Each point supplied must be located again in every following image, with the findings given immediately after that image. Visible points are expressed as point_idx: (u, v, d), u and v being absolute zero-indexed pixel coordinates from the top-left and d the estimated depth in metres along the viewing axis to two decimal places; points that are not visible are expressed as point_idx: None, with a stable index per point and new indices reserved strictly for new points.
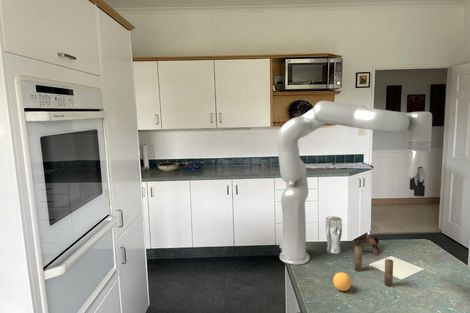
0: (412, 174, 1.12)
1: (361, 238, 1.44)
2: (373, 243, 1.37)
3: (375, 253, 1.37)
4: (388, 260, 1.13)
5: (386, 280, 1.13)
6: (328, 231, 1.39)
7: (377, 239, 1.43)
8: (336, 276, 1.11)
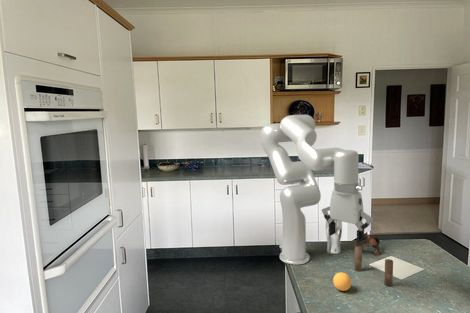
0: None
1: None
2: (374, 244, 1.37)
3: (376, 254, 1.36)
4: (388, 260, 1.13)
5: (386, 280, 1.13)
6: (328, 231, 1.39)
7: (378, 239, 1.42)
8: (336, 276, 1.11)
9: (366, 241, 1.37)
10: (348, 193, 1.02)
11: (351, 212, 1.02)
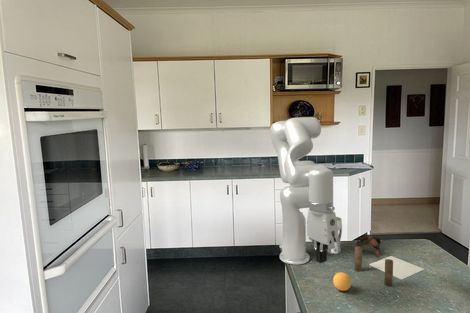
0: None
1: (363, 239, 1.43)
2: (375, 244, 1.36)
3: (377, 254, 1.35)
4: (388, 260, 1.13)
5: (386, 280, 1.13)
6: None
7: (379, 240, 1.42)
8: (336, 276, 1.11)
9: (367, 242, 1.37)
10: (319, 213, 0.99)
11: (322, 232, 1.00)
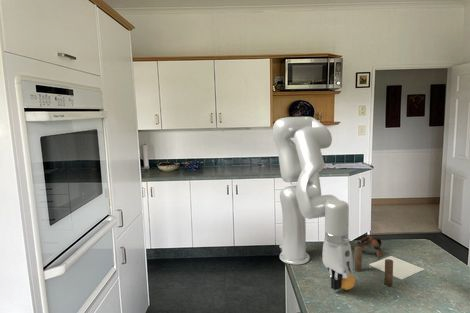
0: None
1: (364, 240, 1.42)
2: (376, 245, 1.36)
3: (378, 255, 1.35)
4: (388, 260, 1.13)
5: (386, 280, 1.13)
6: None
7: (380, 241, 1.41)
8: None
9: (368, 242, 1.36)
10: (334, 244, 1.04)
11: (337, 262, 1.05)
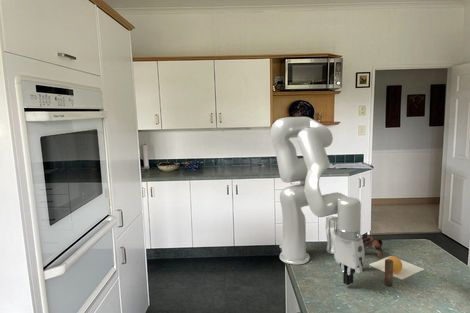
0: None
1: (364, 240, 1.42)
2: (377, 245, 1.35)
3: (379, 256, 1.34)
4: (388, 260, 1.13)
5: (386, 280, 1.13)
6: (328, 231, 1.39)
7: (381, 241, 1.40)
8: None
9: (369, 243, 1.35)
10: (348, 240, 1.07)
11: (350, 258, 1.08)
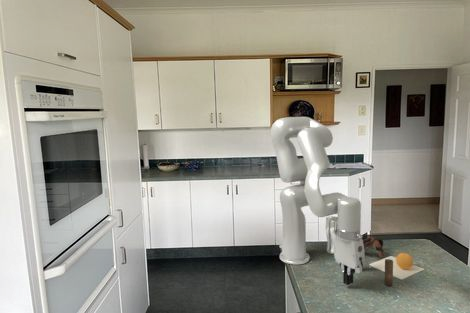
0: None
1: (365, 241, 1.41)
2: (378, 246, 1.34)
3: (380, 256, 1.34)
4: (388, 260, 1.13)
5: (386, 280, 1.13)
6: (328, 231, 1.39)
7: (381, 242, 1.40)
8: None
9: (370, 243, 1.35)
10: (348, 240, 1.07)
11: (350, 258, 1.08)
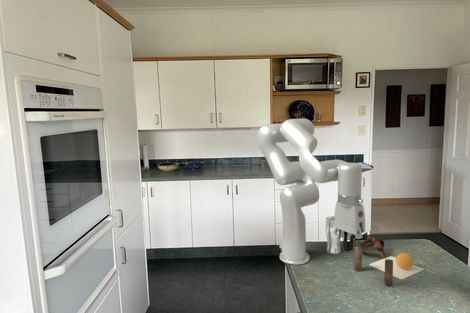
0: None
1: (366, 241, 1.41)
2: (379, 247, 1.34)
3: (381, 257, 1.33)
4: (388, 260, 1.13)
5: (386, 280, 1.13)
6: (328, 231, 1.39)
7: (383, 242, 1.39)
8: None
9: (371, 244, 1.34)
10: (348, 205, 1.06)
11: (351, 223, 1.06)
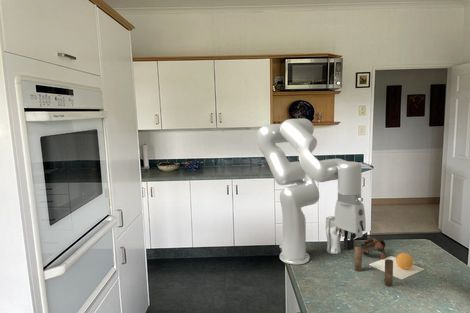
0: None
1: (367, 242, 1.40)
2: (380, 247, 1.33)
3: (382, 257, 1.32)
4: (388, 260, 1.13)
5: (386, 280, 1.13)
6: (328, 231, 1.39)
7: (383, 243, 1.39)
8: None
9: (372, 244, 1.34)
10: (348, 203, 1.06)
11: (351, 222, 1.06)
